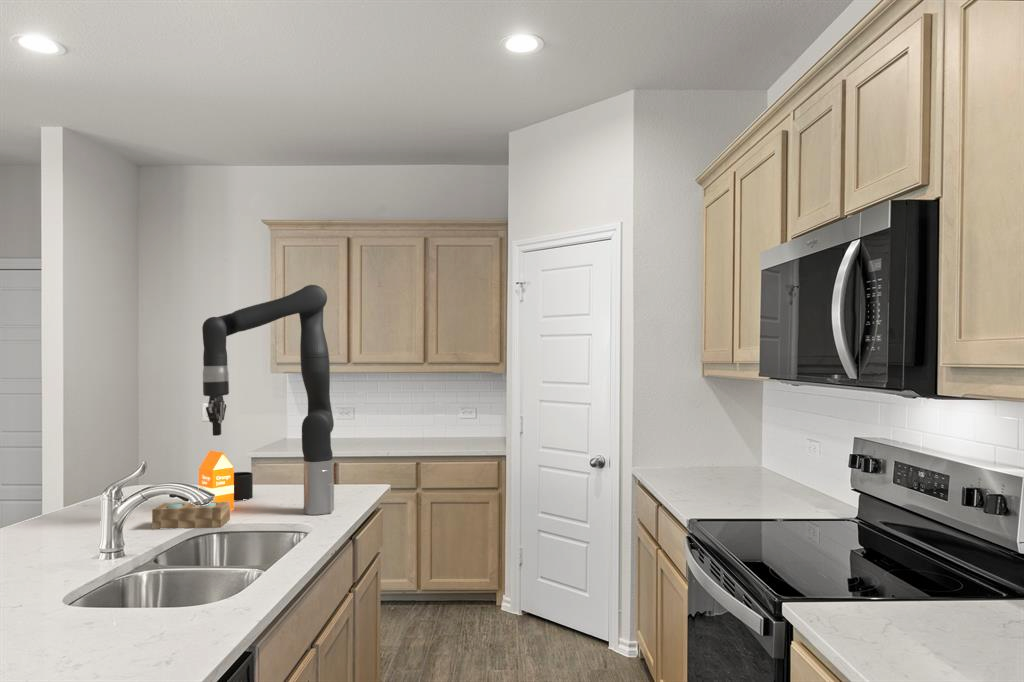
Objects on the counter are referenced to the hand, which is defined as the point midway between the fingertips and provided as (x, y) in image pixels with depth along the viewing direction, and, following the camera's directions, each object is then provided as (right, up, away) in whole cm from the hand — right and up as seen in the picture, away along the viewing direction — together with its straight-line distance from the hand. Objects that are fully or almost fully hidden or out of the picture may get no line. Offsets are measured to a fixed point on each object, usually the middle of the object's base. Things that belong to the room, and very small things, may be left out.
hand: (217, 435), depth 222 cm
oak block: (-6, -27, -5) cm, 28 cm away
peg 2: (-1, -27, -4) cm, 27 cm away
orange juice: (-6, -28, +15) cm, 32 cm away
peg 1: (-11, -27, -5) cm, 29 cm away
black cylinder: (-6, -28, +36) cm, 46 cm away
